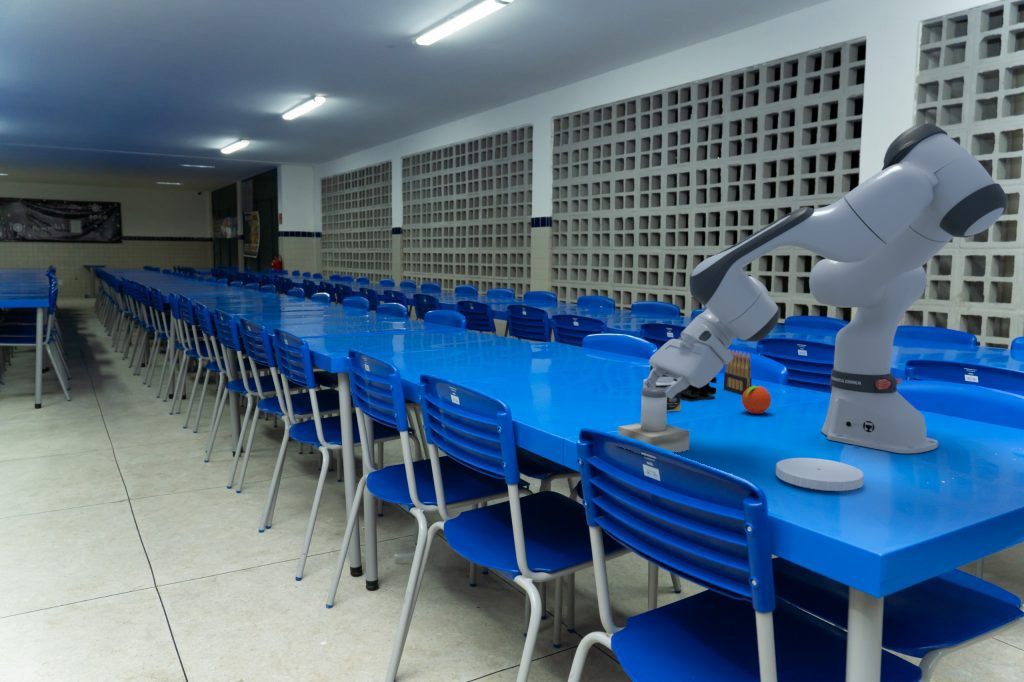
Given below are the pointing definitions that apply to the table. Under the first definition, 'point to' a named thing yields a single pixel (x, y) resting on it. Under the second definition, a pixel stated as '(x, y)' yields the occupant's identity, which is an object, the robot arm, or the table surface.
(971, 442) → the table surface
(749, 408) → the clementine
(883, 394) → the robot arm
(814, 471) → the plastic lid
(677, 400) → the medicine bottle
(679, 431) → the plinth
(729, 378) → the ammunition clip
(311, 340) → the table surface
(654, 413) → the salt shaker
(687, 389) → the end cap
